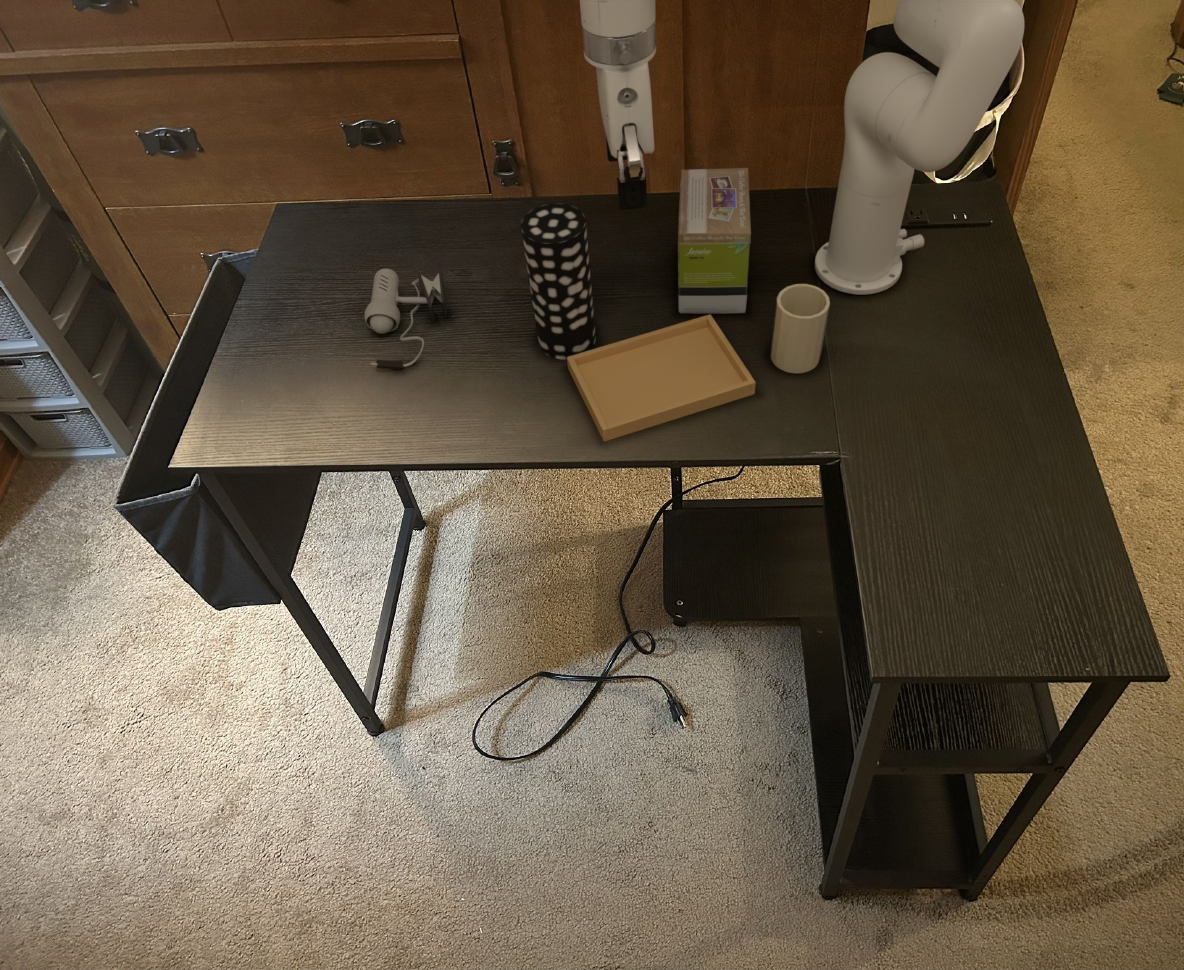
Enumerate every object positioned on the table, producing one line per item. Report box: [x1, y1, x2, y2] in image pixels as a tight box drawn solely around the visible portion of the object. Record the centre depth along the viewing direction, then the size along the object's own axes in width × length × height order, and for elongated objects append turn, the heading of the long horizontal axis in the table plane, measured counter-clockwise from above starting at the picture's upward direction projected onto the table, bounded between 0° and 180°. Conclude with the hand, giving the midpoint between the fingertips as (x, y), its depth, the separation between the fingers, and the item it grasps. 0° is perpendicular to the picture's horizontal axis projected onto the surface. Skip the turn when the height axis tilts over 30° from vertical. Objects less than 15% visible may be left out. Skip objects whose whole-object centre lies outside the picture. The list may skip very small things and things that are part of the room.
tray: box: [566, 313, 757, 442], centre depth 125 cm, size 22×15×2 cm
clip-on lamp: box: [364, 267, 449, 371], centre depth 134 cm, size 12×6×18 cm
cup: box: [770, 283, 831, 374], centre depth 123 cm, size 7×7×10 cm
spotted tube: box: [520, 202, 597, 360], centre depth 125 cm, size 8×8×20 cm
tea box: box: [677, 167, 752, 315], centre depth 132 cm, size 15×10×15 cm, turn 175°
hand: (626, 182), depth 108 cm, fingers open, 9 cm apart
